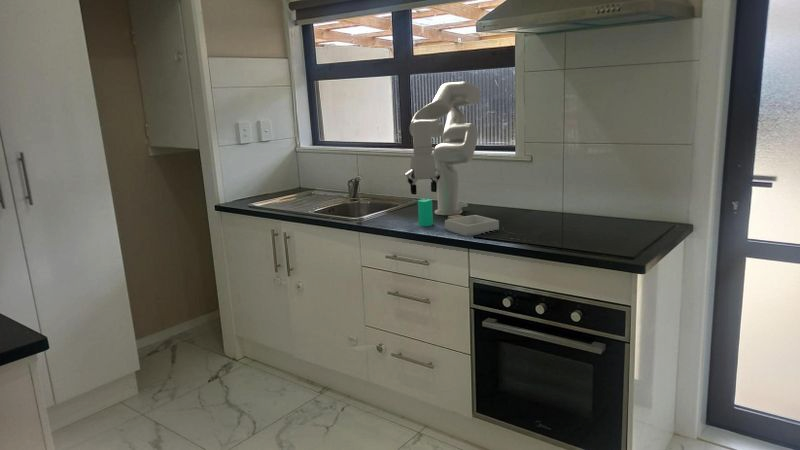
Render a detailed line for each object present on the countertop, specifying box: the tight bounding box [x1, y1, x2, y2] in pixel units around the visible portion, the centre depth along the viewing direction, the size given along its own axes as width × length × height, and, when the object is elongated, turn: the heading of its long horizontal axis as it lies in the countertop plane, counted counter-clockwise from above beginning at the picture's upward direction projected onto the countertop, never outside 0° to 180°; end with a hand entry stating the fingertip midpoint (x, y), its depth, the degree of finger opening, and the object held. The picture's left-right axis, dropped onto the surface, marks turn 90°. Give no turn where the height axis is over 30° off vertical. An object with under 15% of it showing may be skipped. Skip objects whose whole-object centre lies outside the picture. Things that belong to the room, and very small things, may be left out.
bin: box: [444, 214, 500, 237], centre depth 229 cm, size 15×15×4 cm
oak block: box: [447, 214, 465, 220], centre depth 239 cm, size 5×5×4 cm
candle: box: [417, 198, 434, 227], centre depth 242 cm, size 6×6×12 cm
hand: (423, 193), depth 240 cm, fingers open, 9 cm apart
